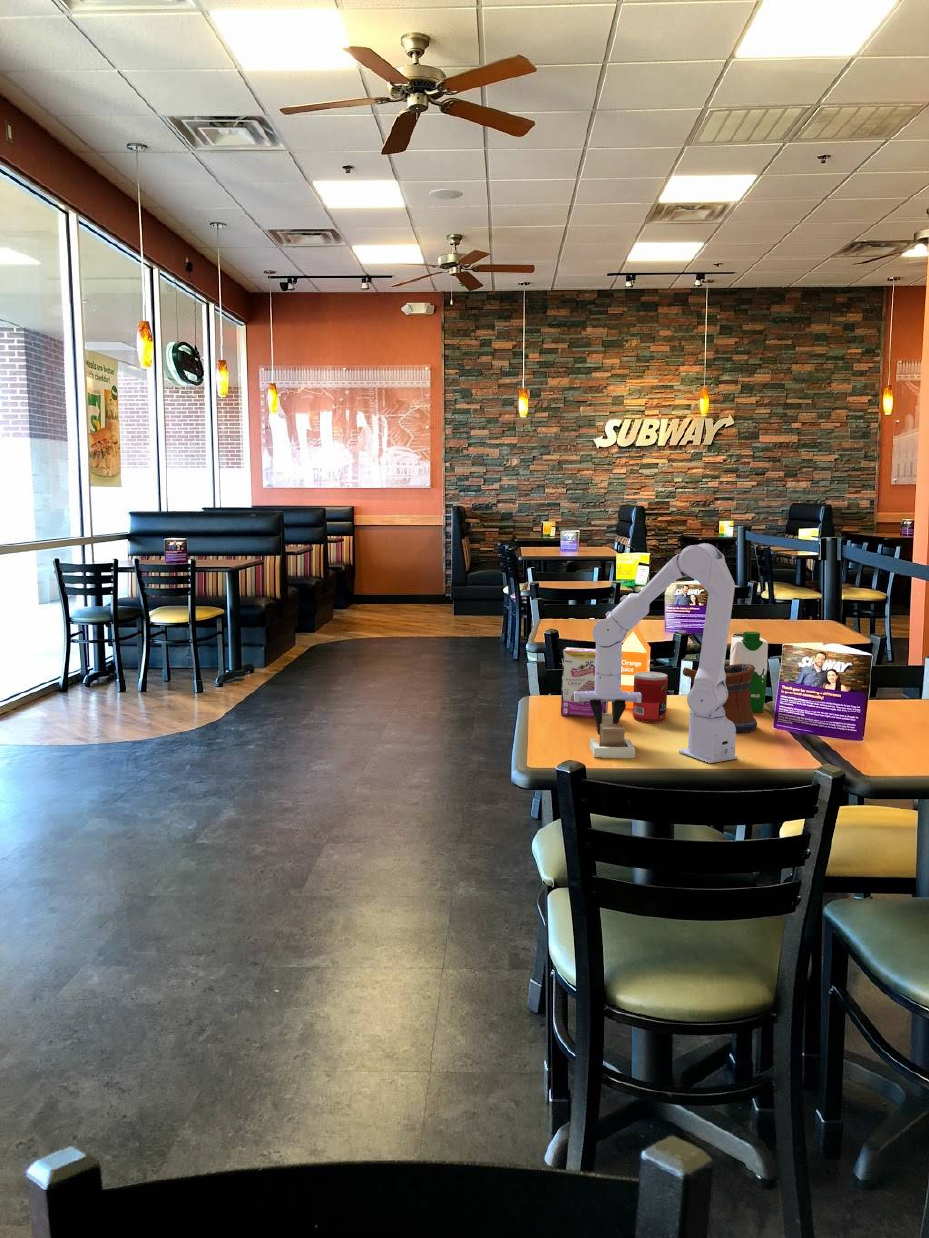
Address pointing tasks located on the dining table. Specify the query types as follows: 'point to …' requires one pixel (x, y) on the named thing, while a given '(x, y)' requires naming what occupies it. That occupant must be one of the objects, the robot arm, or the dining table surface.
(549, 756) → the dining table surface
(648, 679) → the canned food
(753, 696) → the milk carton
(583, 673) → the candy bar box
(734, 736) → the robot arm
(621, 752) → the white u-shaped bracket
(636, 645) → the orange juice
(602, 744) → the block
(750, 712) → the mug
